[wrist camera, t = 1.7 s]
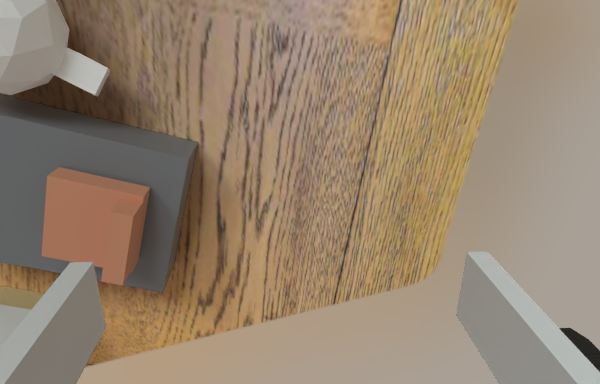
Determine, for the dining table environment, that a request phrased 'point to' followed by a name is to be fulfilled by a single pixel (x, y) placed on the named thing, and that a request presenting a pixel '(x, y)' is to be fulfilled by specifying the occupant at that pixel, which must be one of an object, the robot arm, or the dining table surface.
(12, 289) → the plug
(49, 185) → the orange l-shaped block
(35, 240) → the socket board
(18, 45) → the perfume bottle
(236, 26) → the dining table surface
